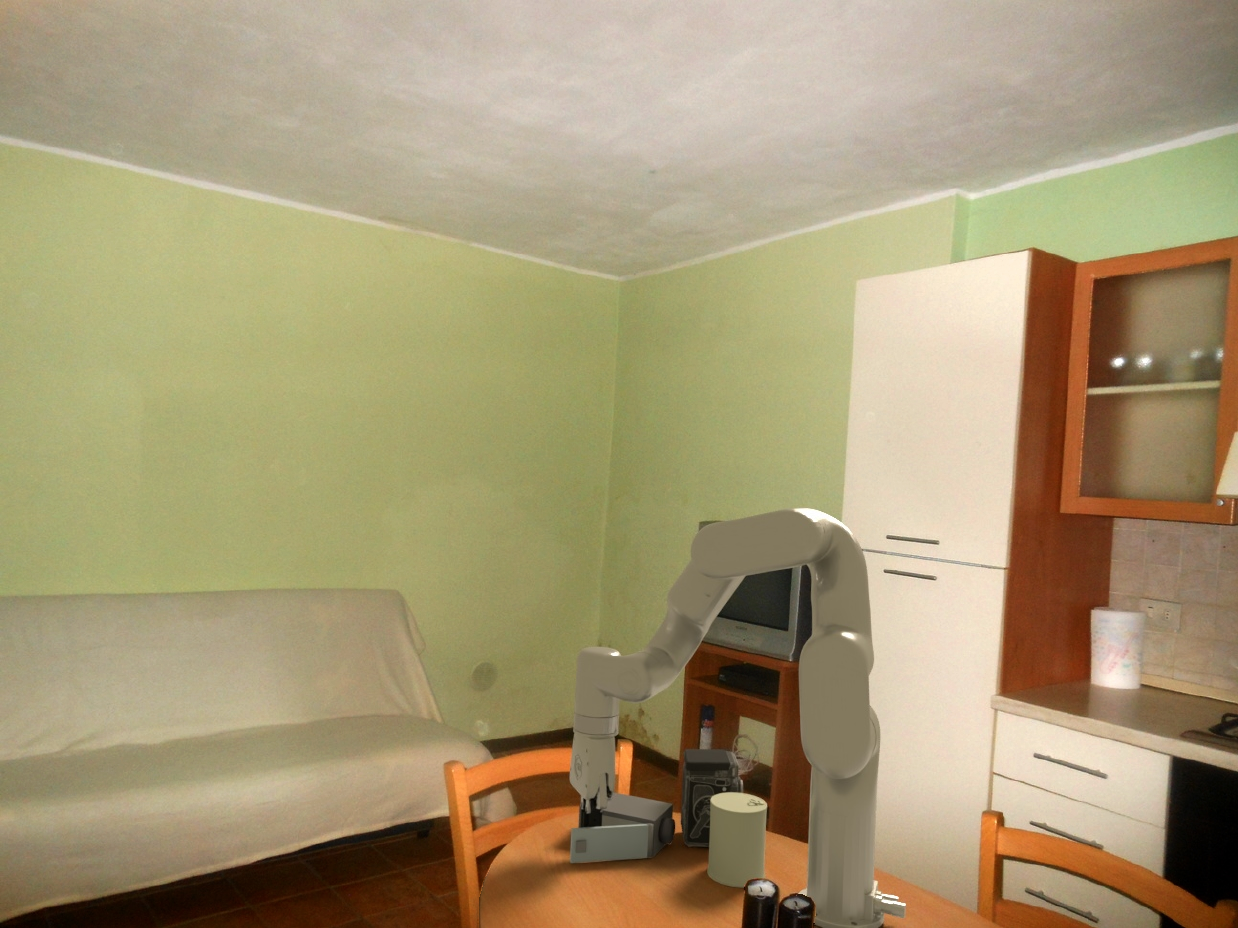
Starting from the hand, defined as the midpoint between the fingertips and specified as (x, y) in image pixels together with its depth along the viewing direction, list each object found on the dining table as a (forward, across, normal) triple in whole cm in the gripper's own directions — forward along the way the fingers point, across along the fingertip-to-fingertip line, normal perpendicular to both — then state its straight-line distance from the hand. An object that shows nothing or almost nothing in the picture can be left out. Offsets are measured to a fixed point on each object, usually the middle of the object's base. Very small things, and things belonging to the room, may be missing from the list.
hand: (590, 834), depth 140 cm
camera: (+4, -1, +23) cm, 23 cm away
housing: (+4, -5, +8) cm, 10 cm away
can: (+4, +12, +21) cm, 24 cm away
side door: (+3, +3, +3) cm, 5 cm away
